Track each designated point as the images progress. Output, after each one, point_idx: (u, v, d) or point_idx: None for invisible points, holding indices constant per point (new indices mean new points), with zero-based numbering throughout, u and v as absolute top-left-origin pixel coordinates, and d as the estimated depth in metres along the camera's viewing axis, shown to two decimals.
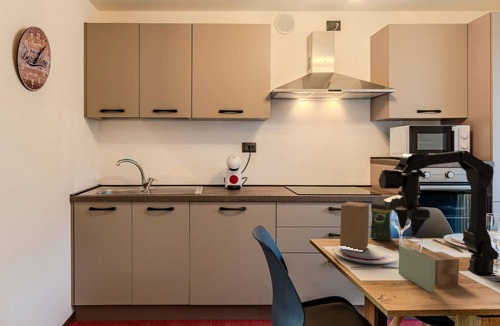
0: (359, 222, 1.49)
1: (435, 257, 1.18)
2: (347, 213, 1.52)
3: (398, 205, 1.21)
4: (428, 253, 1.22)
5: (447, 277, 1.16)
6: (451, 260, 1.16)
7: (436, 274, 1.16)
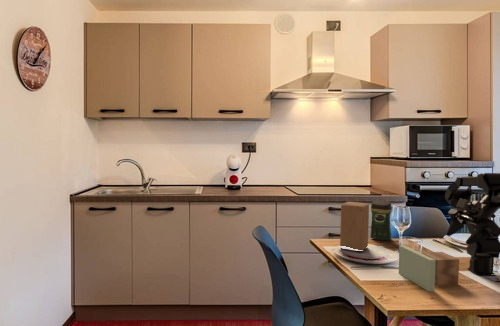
0: (359, 222, 1.49)
1: (435, 257, 1.18)
2: (347, 213, 1.52)
3: (477, 209, 1.16)
4: (428, 253, 1.22)
5: (447, 277, 1.16)
6: (451, 260, 1.16)
7: (436, 274, 1.16)
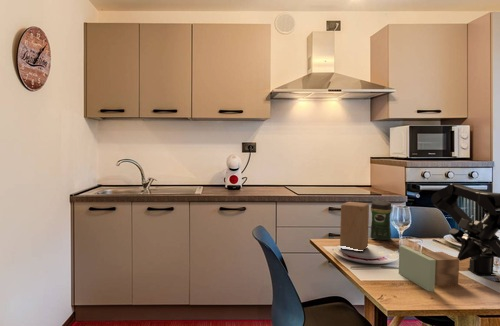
0: (359, 222, 1.49)
1: (435, 257, 1.18)
2: (347, 213, 1.52)
3: (479, 229, 1.17)
4: (428, 253, 1.22)
5: (447, 277, 1.16)
6: (451, 260, 1.16)
7: (436, 274, 1.16)
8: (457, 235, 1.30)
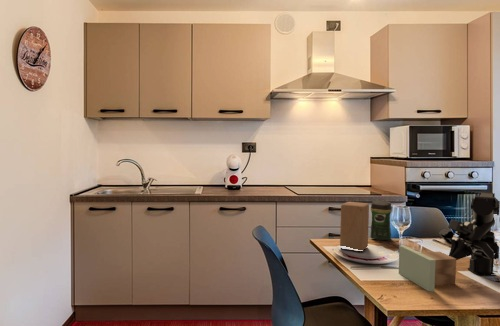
0: (359, 222, 1.49)
1: (432, 257, 1.18)
2: (347, 213, 1.52)
3: (469, 230, 1.16)
4: (425, 253, 1.22)
5: (444, 277, 1.16)
6: (448, 260, 1.16)
7: None
8: (447, 236, 1.28)
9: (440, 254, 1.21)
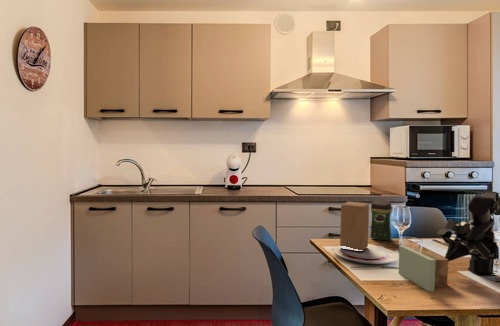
0: (359, 222, 1.49)
1: None
2: (347, 213, 1.52)
3: (465, 230, 1.17)
4: None
5: (435, 277, 1.16)
6: (440, 261, 1.16)
7: None
8: (445, 236, 1.29)
9: (432, 255, 1.21)
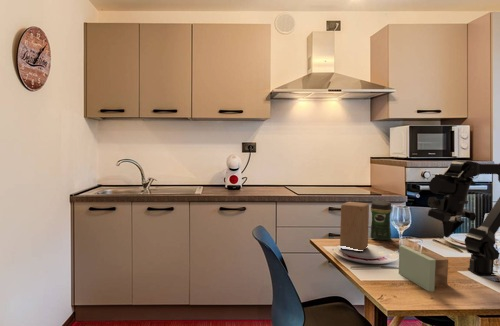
0: (359, 222, 1.49)
1: None
2: (347, 213, 1.52)
3: (431, 204, 1.28)
4: None
5: (435, 277, 1.16)
6: (440, 260, 1.16)
7: None
8: None
9: (432, 255, 1.21)
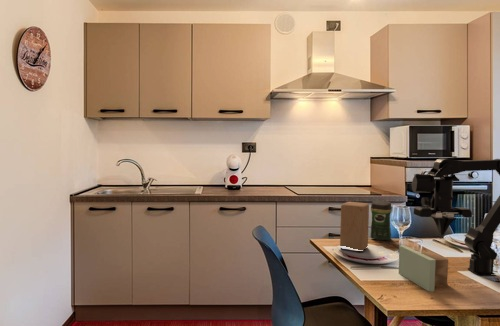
0: (359, 222, 1.49)
1: None
2: (347, 213, 1.52)
3: (423, 204, 1.34)
4: None
5: (435, 277, 1.16)
6: (440, 261, 1.16)
7: None
8: None
9: (432, 255, 1.21)
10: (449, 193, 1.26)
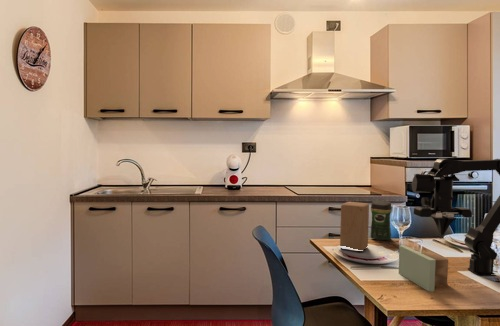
0: (359, 222, 1.49)
1: None
2: (347, 213, 1.52)
3: (423, 204, 1.34)
4: None
5: (435, 277, 1.16)
6: (440, 261, 1.16)
7: None
8: None
9: (432, 255, 1.21)
10: (449, 193, 1.26)
